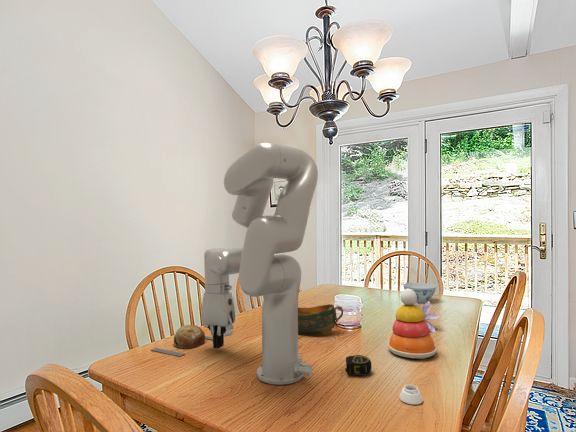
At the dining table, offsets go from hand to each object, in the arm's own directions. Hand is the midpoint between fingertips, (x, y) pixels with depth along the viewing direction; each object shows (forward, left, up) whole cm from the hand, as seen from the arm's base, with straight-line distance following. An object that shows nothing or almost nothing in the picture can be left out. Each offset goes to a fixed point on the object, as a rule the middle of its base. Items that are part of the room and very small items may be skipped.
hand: (218, 347), depth 114 cm
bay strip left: (+14, +8, -1) cm, 16 cm away
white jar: (-58, +6, -2) cm, 59 cm away
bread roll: (+13, -2, -2) cm, 13 cm away
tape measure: (-43, -3, -2) cm, 43 cm away
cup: (+9, -15, -1) cm, 18 cm away
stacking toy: (-54, -24, -2) cm, 60 cm away
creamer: (-19, -29, -2) cm, 35 cm away
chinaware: (-48, -96, -2) cm, 108 cm away
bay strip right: (+14, -8, -1) cm, 16 cm away
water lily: (-54, -50, -2) cm, 74 cm away
